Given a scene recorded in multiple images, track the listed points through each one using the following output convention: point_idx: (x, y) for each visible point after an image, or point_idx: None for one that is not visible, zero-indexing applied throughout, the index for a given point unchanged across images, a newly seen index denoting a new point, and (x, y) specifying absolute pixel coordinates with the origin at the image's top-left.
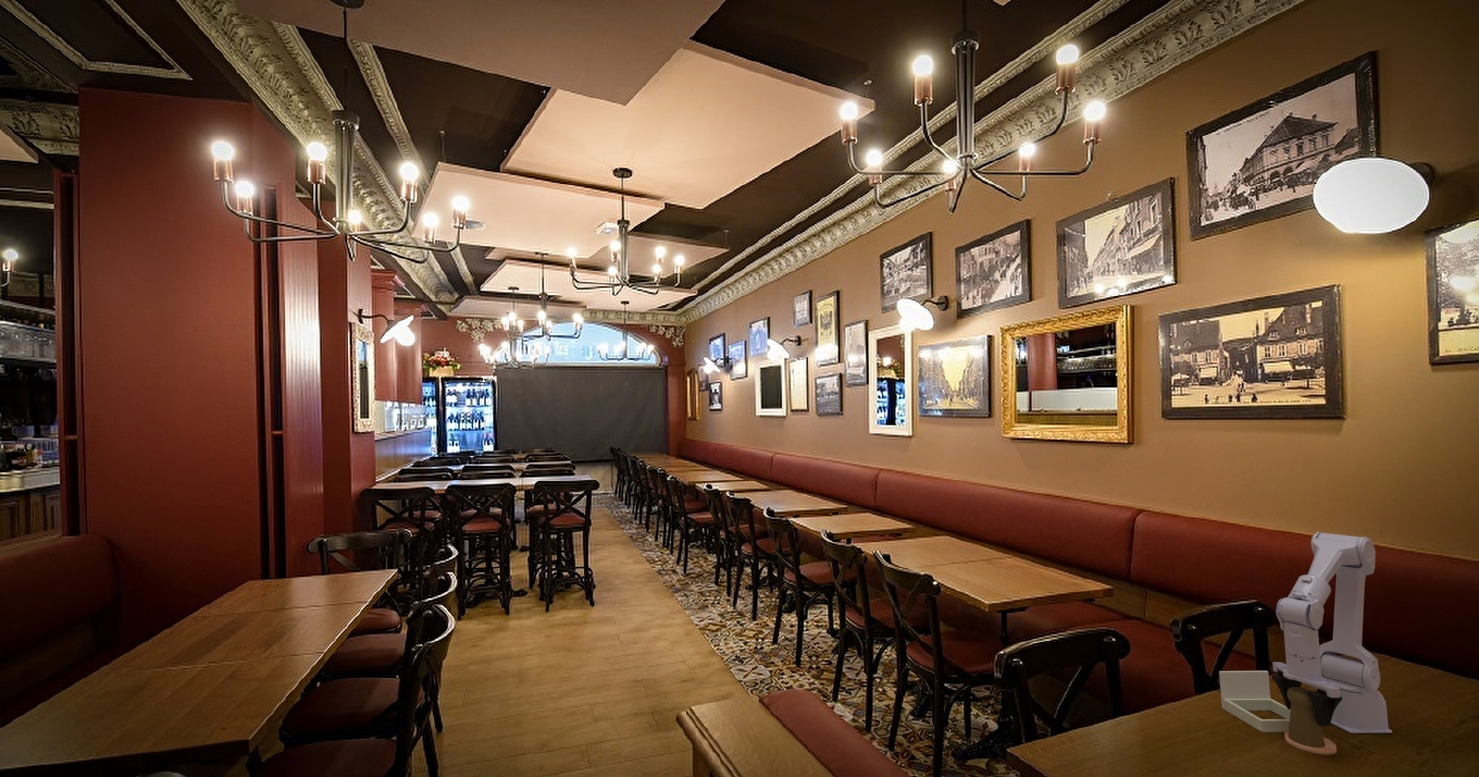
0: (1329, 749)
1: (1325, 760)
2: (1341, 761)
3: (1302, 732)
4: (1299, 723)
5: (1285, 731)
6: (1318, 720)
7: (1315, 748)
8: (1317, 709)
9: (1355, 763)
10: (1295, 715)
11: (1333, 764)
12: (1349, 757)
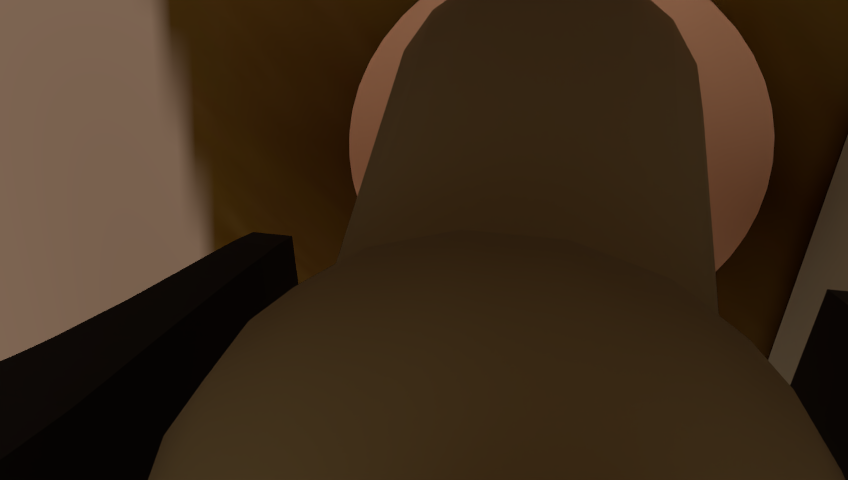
0: (359, 180)
1: (257, 22)
2: (258, 146)
3: (433, 51)
4: (447, 82)
5: (845, 151)
6: (212, 257)
7: (378, 70)
8: (27, 358)
9: (241, 220)
10: (490, 112)
11: (193, 30)
12: (330, 260)
